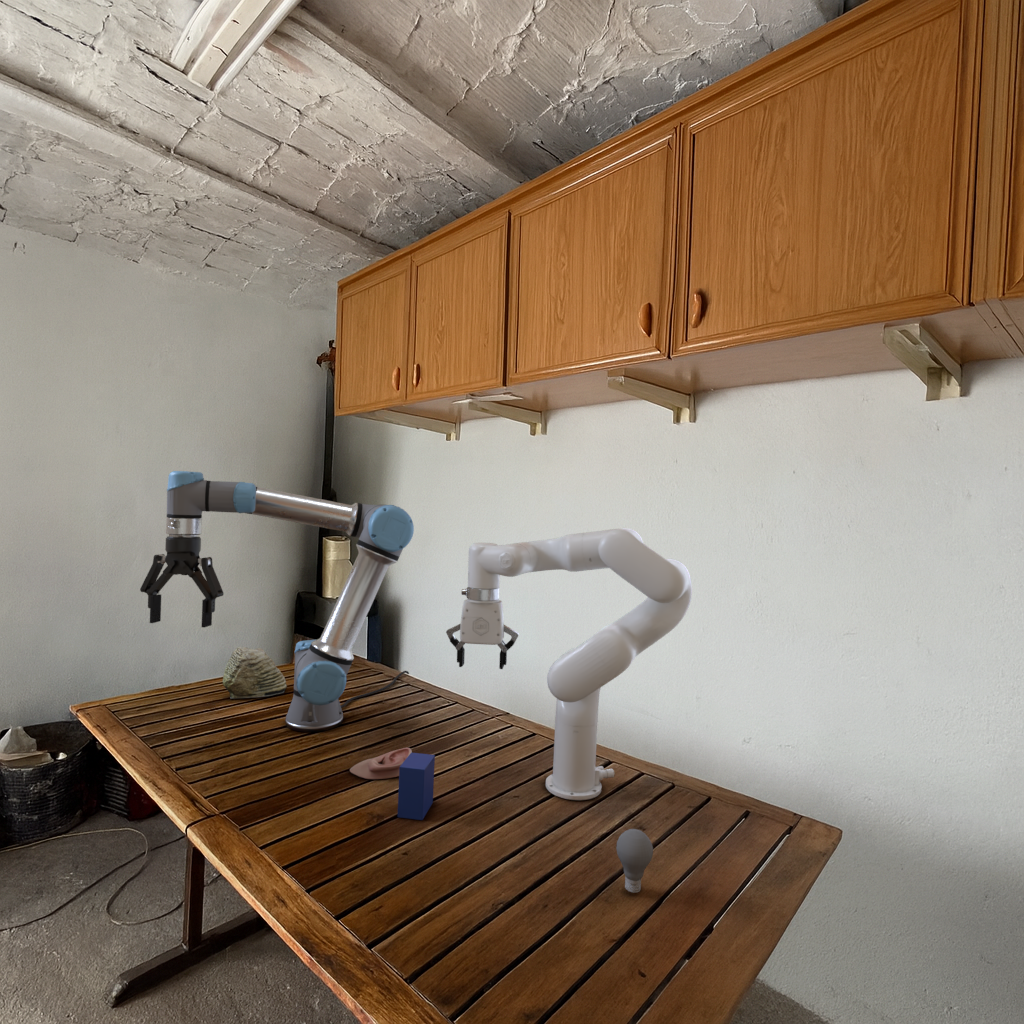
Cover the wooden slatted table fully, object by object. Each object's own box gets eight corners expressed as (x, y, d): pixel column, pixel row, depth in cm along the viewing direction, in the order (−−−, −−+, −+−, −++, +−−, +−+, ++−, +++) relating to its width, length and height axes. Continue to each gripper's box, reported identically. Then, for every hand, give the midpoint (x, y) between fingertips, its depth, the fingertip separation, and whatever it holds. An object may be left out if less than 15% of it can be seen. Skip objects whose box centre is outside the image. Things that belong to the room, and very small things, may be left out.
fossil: (218, 695, 195) (220, 647, 195) (278, 685, 208) (279, 640, 207) (228, 703, 189) (230, 653, 188) (289, 692, 201) (290, 645, 201)
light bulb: (610, 879, 108) (613, 822, 108) (644, 879, 109) (647, 822, 109) (619, 902, 102) (622, 840, 102) (655, 901, 103) (658, 840, 103)
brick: (397, 817, 127) (399, 766, 126) (409, 800, 134) (411, 752, 134) (422, 820, 126) (424, 769, 126) (432, 802, 133) (434, 754, 133)
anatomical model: (344, 758, 144) (365, 740, 155) (343, 775, 144) (365, 756, 155) (399, 766, 141) (417, 746, 152) (398, 783, 141) (416, 763, 152)
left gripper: (125, 533, 149) (122, 623, 150) (222, 539, 146) (218, 631, 146) (148, 532, 157) (145, 617, 157) (240, 537, 153) (237, 625, 153)
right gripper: (444, 595, 147) (442, 668, 148) (518, 598, 146) (516, 672, 146) (450, 591, 155) (448, 661, 155) (521, 594, 153) (519, 664, 153)
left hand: (180, 624), depth 152 cm, fingers open, 13 cm apart
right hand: (481, 666), depth 150 cm, fingers open, 9 cm apart
